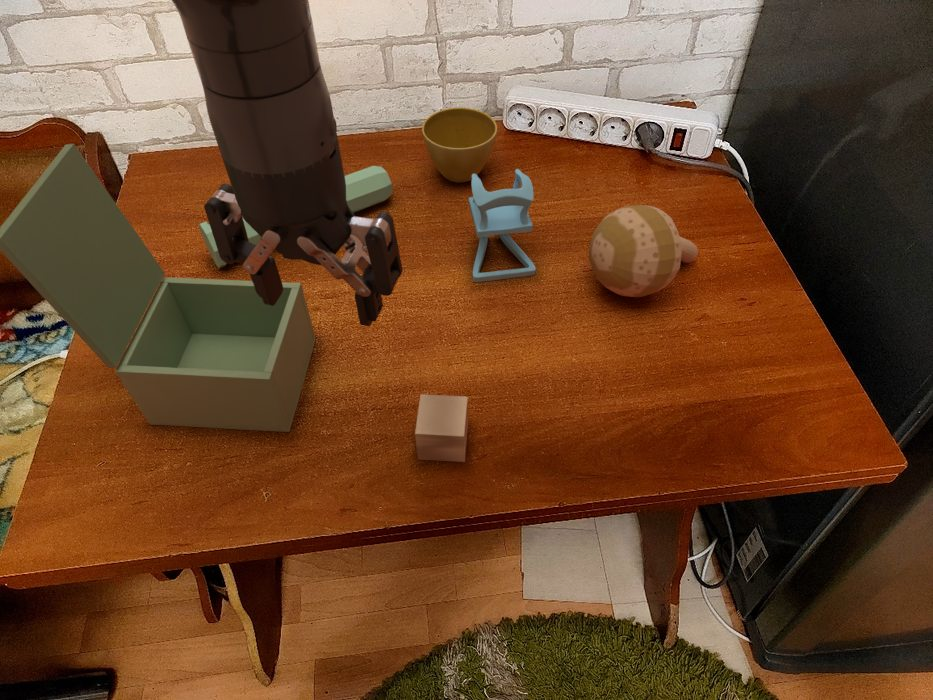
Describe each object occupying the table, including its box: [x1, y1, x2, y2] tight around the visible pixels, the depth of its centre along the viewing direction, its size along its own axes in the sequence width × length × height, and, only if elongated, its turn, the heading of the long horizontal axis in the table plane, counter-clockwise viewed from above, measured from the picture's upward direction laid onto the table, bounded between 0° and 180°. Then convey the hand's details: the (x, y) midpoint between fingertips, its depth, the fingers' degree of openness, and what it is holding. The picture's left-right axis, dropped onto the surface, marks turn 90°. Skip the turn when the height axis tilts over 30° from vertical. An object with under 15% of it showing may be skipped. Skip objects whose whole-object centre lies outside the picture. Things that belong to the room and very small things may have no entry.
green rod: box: [198, 165, 393, 269], centre depth 88 cm, size 6×6×25 cm
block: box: [414, 393, 469, 463], centre depth 66 cm, size 5×5×5 cm
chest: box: [114, 276, 317, 433], centre depth 70 cm, size 15×13×9 cm
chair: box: [468, 168, 537, 283], centre depth 81 cm, size 8×8×12 cm
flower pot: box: [421, 107, 498, 184], centre depth 94 cm, size 10×10×7 cm
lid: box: [0, 143, 165, 369], centre depth 61 cm, size 16×13×1 cm
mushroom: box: [588, 204, 699, 298], centre depth 80 cm, size 10×11×15 cm
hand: (321, 308), depth 57 cm, fingers open, 8 cm apart
